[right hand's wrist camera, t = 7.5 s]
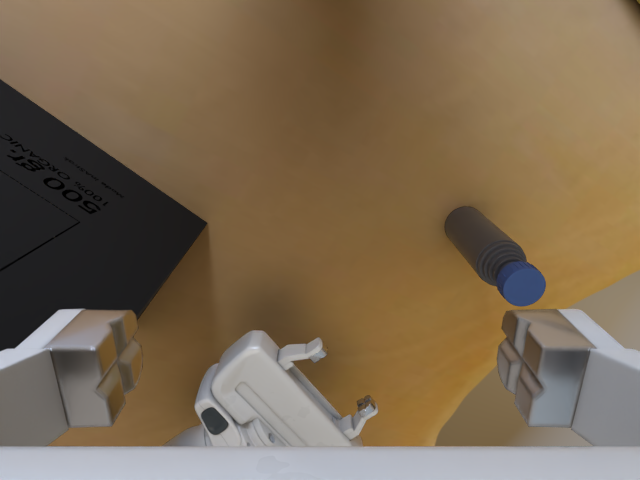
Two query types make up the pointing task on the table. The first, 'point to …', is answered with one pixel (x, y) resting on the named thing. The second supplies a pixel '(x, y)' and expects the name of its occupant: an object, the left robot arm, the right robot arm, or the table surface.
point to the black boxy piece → (76, 225)
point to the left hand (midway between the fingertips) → (349, 375)
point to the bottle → (482, 243)
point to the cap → (521, 283)
